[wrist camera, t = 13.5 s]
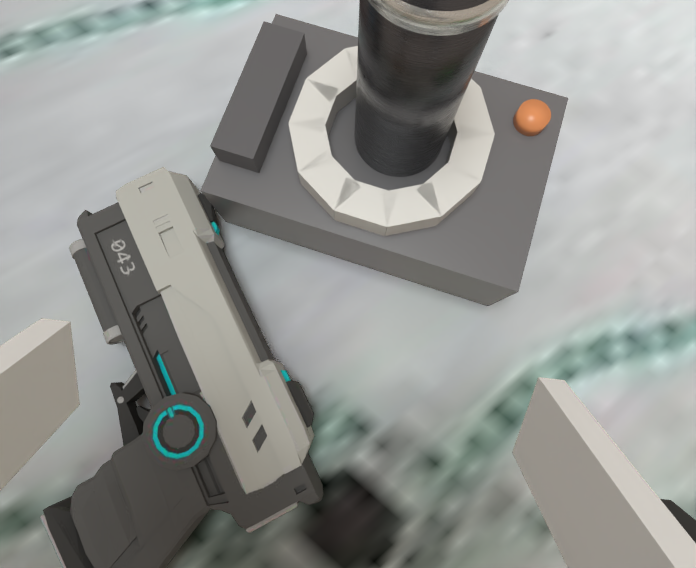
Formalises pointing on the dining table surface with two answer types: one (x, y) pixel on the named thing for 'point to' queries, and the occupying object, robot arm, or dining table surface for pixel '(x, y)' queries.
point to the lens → (414, 76)
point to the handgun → (180, 388)
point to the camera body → (372, 186)
